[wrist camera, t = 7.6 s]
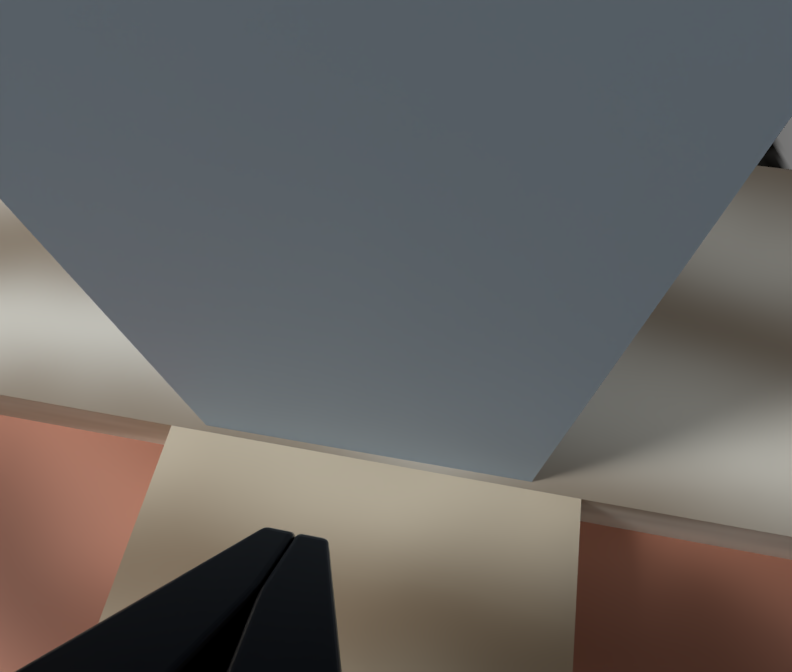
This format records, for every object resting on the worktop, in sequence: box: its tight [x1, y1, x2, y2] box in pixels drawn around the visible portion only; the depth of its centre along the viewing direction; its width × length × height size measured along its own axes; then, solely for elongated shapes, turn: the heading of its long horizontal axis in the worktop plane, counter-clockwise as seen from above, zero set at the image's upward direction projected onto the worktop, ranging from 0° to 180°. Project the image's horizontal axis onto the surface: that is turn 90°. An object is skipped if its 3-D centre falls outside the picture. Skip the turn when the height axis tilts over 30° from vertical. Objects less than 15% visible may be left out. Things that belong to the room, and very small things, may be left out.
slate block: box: [0, 0, 792, 482], centre depth 11 cm, size 8×8×12 cm
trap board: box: [0, 166, 792, 672], centre depth 15 cm, size 25×28×2 cm
